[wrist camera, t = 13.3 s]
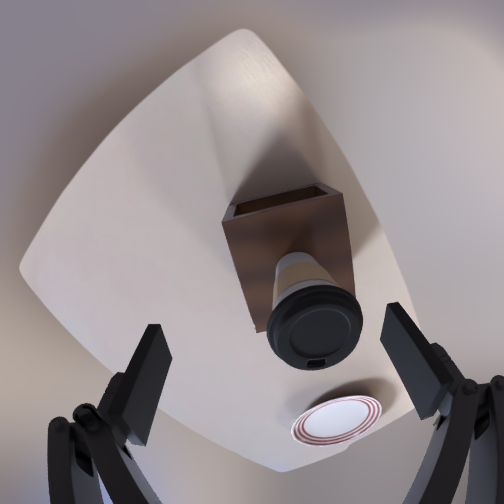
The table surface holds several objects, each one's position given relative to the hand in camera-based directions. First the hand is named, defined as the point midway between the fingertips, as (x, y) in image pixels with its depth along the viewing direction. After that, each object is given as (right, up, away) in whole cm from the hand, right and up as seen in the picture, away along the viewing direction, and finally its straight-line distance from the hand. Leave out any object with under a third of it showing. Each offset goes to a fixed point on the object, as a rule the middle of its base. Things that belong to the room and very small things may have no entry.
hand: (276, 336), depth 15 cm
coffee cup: (+5, +2, +23) cm, 23 cm away
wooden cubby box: (+5, +6, +33) cm, 34 cm away
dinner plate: (+23, -44, +53) cm, 73 cm away
